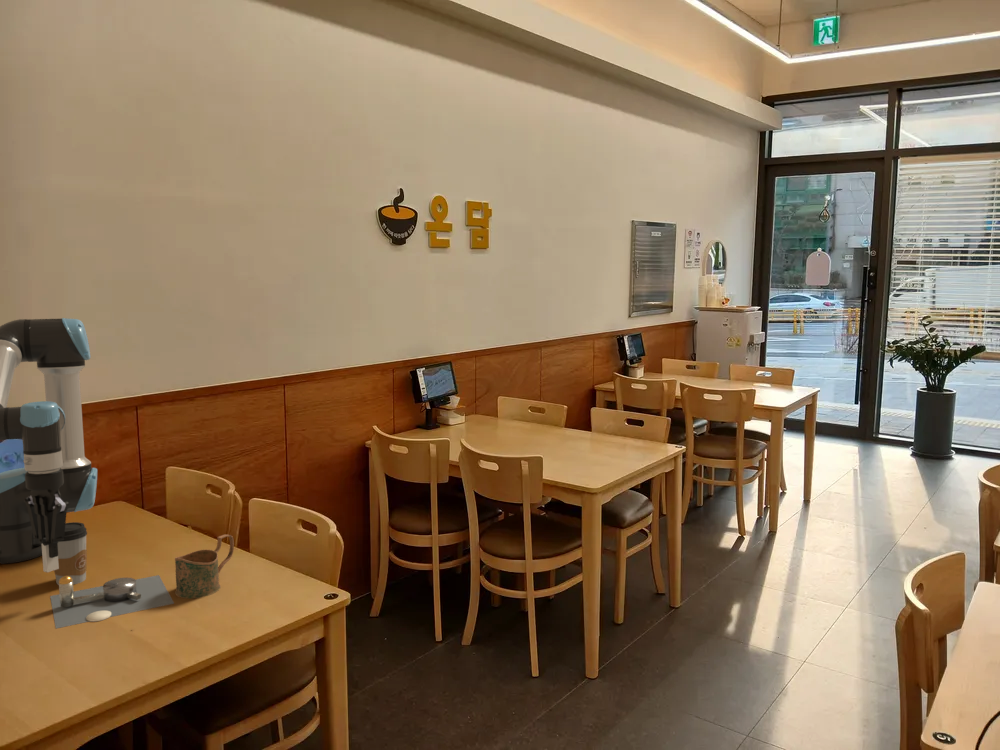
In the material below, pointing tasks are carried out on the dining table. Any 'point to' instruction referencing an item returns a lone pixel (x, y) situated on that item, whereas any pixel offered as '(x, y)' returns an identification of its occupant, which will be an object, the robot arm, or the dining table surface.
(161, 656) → the dining table surface
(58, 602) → the stand plate
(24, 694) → the dining table surface
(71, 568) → the coffee cup
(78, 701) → the dining table surface
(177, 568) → the mug
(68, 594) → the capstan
